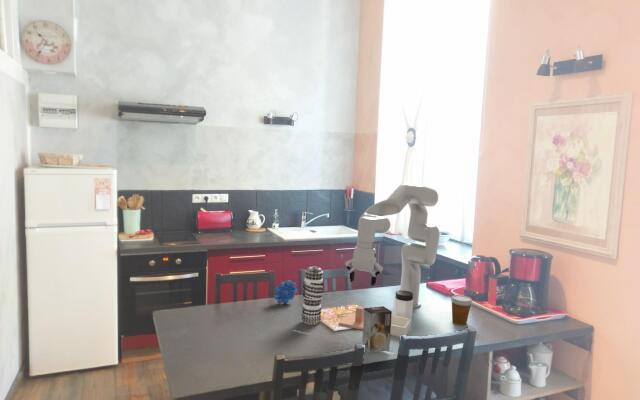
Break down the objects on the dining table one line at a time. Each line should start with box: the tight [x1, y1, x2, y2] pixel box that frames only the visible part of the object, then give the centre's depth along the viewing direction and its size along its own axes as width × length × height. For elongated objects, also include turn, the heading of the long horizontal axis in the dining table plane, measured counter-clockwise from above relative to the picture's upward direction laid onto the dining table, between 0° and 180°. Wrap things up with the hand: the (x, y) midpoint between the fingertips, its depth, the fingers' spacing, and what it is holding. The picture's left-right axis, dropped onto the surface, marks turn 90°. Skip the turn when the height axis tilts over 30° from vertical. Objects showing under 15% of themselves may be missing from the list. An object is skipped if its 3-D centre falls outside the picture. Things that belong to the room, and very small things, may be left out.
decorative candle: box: [301, 265, 325, 326], centre depth 208 cm, size 9×9×25 cm
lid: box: [338, 305, 366, 331], centre depth 211 cm, size 14×14×7 cm
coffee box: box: [361, 306, 393, 354], centre depth 185 cm, size 9×6×16 cm
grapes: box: [273, 279, 298, 305], centre depth 232 cm, size 12×7×12 cm, turn 110°
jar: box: [392, 290, 414, 320], centre depth 222 cm, size 9×8×12 cm
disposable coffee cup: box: [450, 294, 473, 326], centre depth 219 cm, size 10×10×12 cm
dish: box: [390, 314, 413, 338], centre depth 204 cm, size 12×12×5 cm
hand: (362, 283), depth 209 cm, fingers open, 9 cm apart
